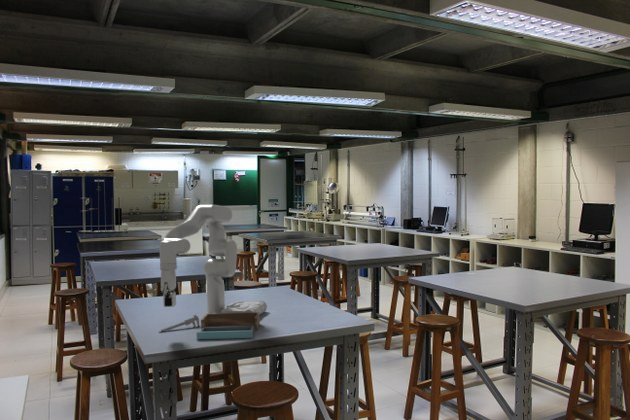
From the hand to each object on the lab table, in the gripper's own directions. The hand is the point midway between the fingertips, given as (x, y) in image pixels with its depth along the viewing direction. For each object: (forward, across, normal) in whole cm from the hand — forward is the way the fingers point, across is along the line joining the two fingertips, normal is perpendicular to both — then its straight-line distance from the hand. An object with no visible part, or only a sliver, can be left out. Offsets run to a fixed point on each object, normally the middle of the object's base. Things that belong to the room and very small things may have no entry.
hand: (169, 304), depth 236 cm
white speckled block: (+1, 0, 0) cm, 1 cm away
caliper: (+16, -13, 0) cm, 20 cm away
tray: (+15, +1, +27) cm, 31 cm away
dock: (+15, -12, +26) cm, 33 cm away
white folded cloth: (+16, -38, +30) cm, 51 cm away
